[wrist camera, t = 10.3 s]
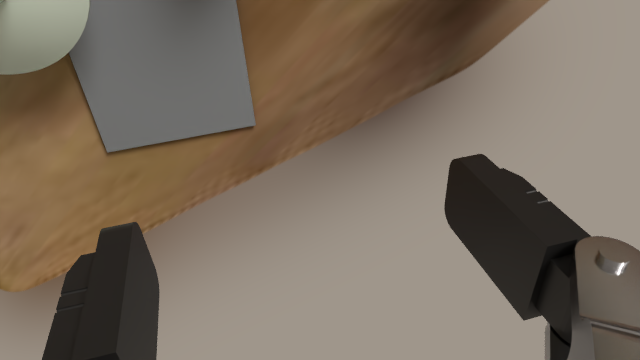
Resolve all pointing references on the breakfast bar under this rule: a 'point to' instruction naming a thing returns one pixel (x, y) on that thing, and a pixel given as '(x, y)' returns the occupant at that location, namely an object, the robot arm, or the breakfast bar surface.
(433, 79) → the breakfast bar surface
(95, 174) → the breakfast bar surface
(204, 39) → the mat
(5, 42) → the lid
